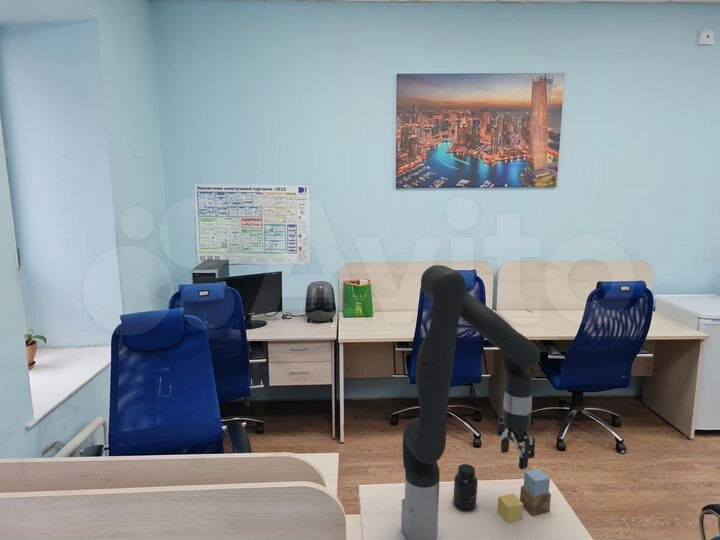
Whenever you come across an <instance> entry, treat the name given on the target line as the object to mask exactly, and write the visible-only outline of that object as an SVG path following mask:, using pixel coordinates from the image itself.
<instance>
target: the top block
mask: <svg viewBox="0 0 720 540" xmlns="http://www.w3.org/2000/svg"><path fill="white" fill-rule="evenodd" d="M523 512H524V507H523V503H522V502H521V501H520V498H518V497H517V496H516V495H515V494H514V493H510V494H505V495H500V496H498V500H497V513H498V514H499V515H500V516H501V517H502V519H503V520H504V521H505V522H506V523H508V524H509V523H512V522H517V521H520V520H523V516H524V513H523Z"/></svg>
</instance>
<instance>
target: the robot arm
mask: <svg viewBox="0 0 720 540" xmlns="http://www.w3.org/2000/svg"><path fill="white" fill-rule="evenodd" d="M420 279H421V280H420V285H421V286H420V287H421V289H422V291H423V293H424V294H425V296H427V297H428V298H429V299H430V300H432V309H431V311H432V312H431V320H430V321H431V322H430V325H429V327H428V330H427V332H426V334H425V336H424V338H423V339H422V341H421V344H420V346H419V348H418V352H417V359H416V368H415V384H416V391H417V392H416V393H417V398H418V404H419V416H417V417H414V418H412V419H410V421H408V422H407V423H406V425H405V427H404V430H403V433H402V461H403V467H404V468H403V469H404V473H405V474H404V475H405V479H404V480H405V482H404V498H403V499H401V516H400V517H401V519H400V520H401V522H400V523H401V525H400V526H401V527H400V530H401V532H402V533H403V535H404V537H405V539H406V540H437V539H438V530H439V528H438V527H439V526H438V525H439V524H438V523H439V500H440V499H439V497H440V496H439V495H440V479H441V477H440V475H441V473H440V468H439V467H440V466H439V465H438V462H437V461H440V459H441V458H442V456H443V454H444V452H445V450H446V449H445V448H446V444H447V443H446V441H447V414H448V413H447V412H448V406H449V397H450V391H451V389H450V387H451V380H452V377H453V376H452V375H453V370H454V369H453V368H454V361H455V360H454V359H455V350H456V343H457V336H458V329H459V328H458V327H459V322H460V318H461V319H463V320H464V321H465V322H466V323H468V325H469V326H471V327H472V328H473V329H474V330H475V331H476V332H478V333H479V335H481V337H482V338H484V339H485V340H486V341H487V342H489V343H490V344H492V346H494V347H496V348H497V349H499V350H500V351H502V358H503V359H502V360H503V367H504V372H505V388H504V389H505V391H504V396H503V402H502V403H503V405H502V406H503V407H502V416H498V417H497V426H496V435H497V436H499V439H500V452H501V453H503V454H507V453H509V450H510V441H512V443H513V444H514V446H515V449H516V450H518V453H519V456H518V458H519V459H518V460H519V461H518V468H519V470H526V469H527V468H528V465H529V464H528V463H529V460H530V459H534V458H535V455H536V453H535V451H536V449H535V448H536V438H535V437H534V436H530V435H528V428H529V427H530V425H531V419H532V407H533V405H532V404H533V396H532V393H533V392H532V391H533V384H534V383H533V381H534V380H533V375H531V373H530V372H529V370H528V369H530V368H533V367H535V366H537V364H539V361H540V359H541V353H540V350H539V348H538V346H537V345H536V343H534V342H533V341H531V340H530V339H528V338H527V337H526V336H524V335H523V334H521V332H519V331H517V330H516V329H515V328H514V327H513V326H512V325H511V324H510V323H509V322H507V321H506V320H505V319H504V318H503V317H502V316H500V315H499V314H498V313H496V312H495V311H494V310H493V309H491V308H490V307H489V306H487V305H485V304H484V303H483V302H481V301H480V300H478V299H477V298H475V297H474V296H473V295H472V294H470V293H469V292H468V291H467V283H466V279H465V277H464V276H463V274H461V272H460V271H458V270H455V269H454V268H451V267H449V266H446V265H442V264H441V265H440V264H435V265H431V266H429V267H428V268H426V269H425V270H424V271H423V273H422V275H421V278H420ZM522 443H523V444H522ZM520 444H521V445H520Z"/></svg>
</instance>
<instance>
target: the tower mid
mask: <svg viewBox="0 0 720 540" xmlns="http://www.w3.org/2000/svg"><path fill="white" fill-rule="evenodd" d="M550 480H551V478H550V477H549V475H548V474H546V473H544V472H543V471H542V470H541V469H540V468H536V469H531V470H526V471H524V479H523V485H524V488H525V489H527V490H528V491H529V492H530V493H531V494H532V495H533V496H534V497H536V496H540V495H544V494H548V493H550V484H551V483H550Z"/></svg>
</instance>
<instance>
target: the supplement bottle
mask: <svg viewBox="0 0 720 540" xmlns="http://www.w3.org/2000/svg"><path fill="white" fill-rule="evenodd" d="M477 499H478V478H477V476H476V469H475V467H474V466H473V465H471V464H467V463H463V464H460V465H458V470H457V473H456V474H455V476H454V482H453V500H452V501H453V502H452V503H453V505H454V506H455V507H456V509H458V510H460V511H463V512H464V511H466V512H470V511H473V510H474V509H476V506H477Z"/></svg>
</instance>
